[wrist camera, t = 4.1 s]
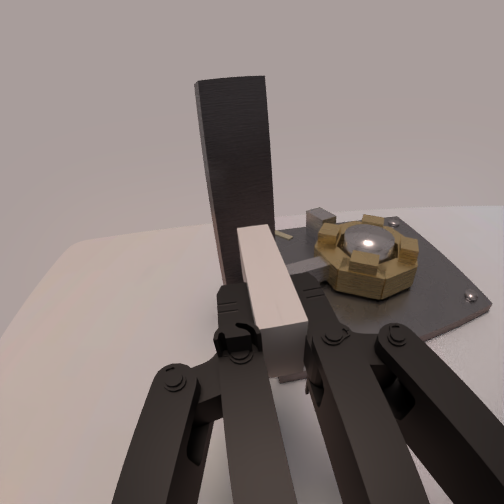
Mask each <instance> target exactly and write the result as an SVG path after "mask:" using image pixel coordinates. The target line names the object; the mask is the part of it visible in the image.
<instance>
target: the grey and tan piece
mask: <svg viewBox="0 0 504 504" xmlns="http://www.w3.org/2000/svg"><path fill="white" fill-rule="evenodd" d="M194 87H195V96H196V105H197V113H198V121H199V129H200V136H201V145H202V153H203V160H204V167H205V174H206V181H207V188H208V194H209V201H210V208H211V214H212V221H213V227H214V233H215V239H216V245H217V251H218V257H219V263H220V268H221V274H222V280H223V285H230V284H237V283H244V280H243V275H242V267H241V259H240V250H239V242H238V234H237V228H242V227H249V226H257V225H265V224H268V226H269V229H270V231H271V233H272V235H273V238H274V240H275V221H274V203H273V184H272V168H271V152H270V137H269V123H268V110H267V97H266V86H265V76H245V77H230V78H219V79H209V80H201V81H197V82H196V83H195V84H194ZM359 224H368V225H375V226H378V227H381V228H384V229H386V230H387V231H389V232H390V233H391V234H392V235H393V236H394V238H395V243H394V248H393V253H392V258H391V260H389V261H386V262H384V263H381V264H379V257H380V255H377V254H372V253H367V252H362V251H356V250H353V252H352V255H351V258H350V257H349V256H348V255H346V254H345V253H344V252H343V245H344V234H345V231H346V229H347V228H349V227H351V226H353V225H359ZM383 225H384V218H383V217H377V216H371V215H365V214H364V215H363V218H362V222H360V221H352V222H348V223H343V224H339V225H336V224H330V223H324V224H323V225H322V227H321V229H320V230H319V232H318V240H317V242H316V244H315V246H314V258H310V259H307V260H303V261H299V262H295V263H292V264H288V265H285V266H286V268H287V270H288V273H289V275H292V274H298V273H304V272H309V273H310V274H311V275H313V276H314V277H315V278H316V279H317V280H318V282H322V281H325V280H326V281H327V282H328V283H329V284H330V285H331V286H332V287H333V288H334V290H336V291H340V292H345V293H350V294H354V295H359V296H364V297H368V298H373V299H378V300H380V299H381V300H382V299H384V298H386V297H389V296H391V295H393V294H395V293H398V292H400V291H402V290H404V289H406V288H409V287H411V286H412V284H413V281H414V277H415V274H416V271H417V267H418V261H417V257H418V253H419V247H418V239H413V238H408V237H405V236H403V235H402V234H400V233H399V232H397V231H396V230H394V229H393V228H391V227H388V226H383Z"/></svg>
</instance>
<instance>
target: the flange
mask: <svg viewBox="0 0 504 504" xmlns="http://www.w3.org/2000/svg"><path fill="white" fill-rule="evenodd" d="M351 222H352V221H351ZM360 222H362V220H360ZM324 223H330V224H336V225H339V224H343V223H348V222H342V223H336V216H335V215H333V214H331V213H330V212H328V211H326V210H324V209H322V208H320V207H319V208H316V209H312V210H308V211H306V227H301V228H293V229H285V230H278V231H277V230H275V242H276V245H277V247H278V249H279V252H280V254H281V256H282V259H283V261H284V263H285V265H288V264H292V263H295V262H299V261H303V260H307V259H310V258H314V246H315V244H316V242H317V240H318V232H319V230H320V229H321V227H322V225H323V224H324ZM383 226H388V227H391V228H393V229H394V230H396V231H397V232H399V233H400V234H402V235H403V236H405V237H408V238H413V239H418V247H419V253H418V257H417V261H418V267H417V271H416V274H415V277H414V281H413V284H412V286H411V287H409V288H406V289H404V290H402V291H400V292H398V293H395V294H393V295H391V296H389V297H386V298H384V299H382V300H381V299H380V300H378V299H373V298H368V297H364V296H359V295H354V294H350V293H345V292H340V291H336V290H334V288H333V287H332V286H331V285H330V284H329V283H328V282H327V281H326V280H325V281H322V282H319V284H320V286H321V289H322V290H323V291H324V293H325V296H326V297H327V299H328V301H329V303H330V305H331V307H332V309H333V311H334V312H335V314H336V316H337V318H338V320H339V322H340V323H342V324H344V325H346V326H347V327H349V328H350V329H351V331H352V332H356V333H364V334H378V333H379V330H380V329H381V328H382V327H383V326H384V325H386V324H389V323H399V324H403V325H405V326H407V327H408V328H409V329H411V330H412V331H413V332H414V333H415V334H416V335H417V336H418V337H419V338H420V339H421V340H422V341H423V342H424V341H427V340H429V339H431V338H434V337H436V336H438V335H441V334H443V333H445V332H447V331H450V330H452V329H454V328H456V327H458V326H460V325H462V324H465V323H467V322H469V321H471V320H473V319H474V318H476V317H478V316H480V315H482V314H484V313H486V312H488V311H489V309H490V307H491V305H492V302H491V301H490V300H489V299H488V298H487V297H486V296H485V295H484V294H483V293H482V292H481V291H480V290H479V289H478V288H477V287H476V286H475V285H474V284H473V283H472V282H471V281H470V280H469V279H468V278H467V277H466V276H465V275H464V274H463V273H462V272H461V271H460V270H459V269H458V268H457V267H456V266H455V265H454V264H453V263H452V262H451V261H449V260H448V259H447V258H446V257H445V256H444V255H443V254H442V253H441V252H440V251H438V250H437V249H436V248H435V247H434V246H433V245H432V244H430V243H429V242H428V241H427V240H426V239H424V238H423V237H422V236H421V235H420V234H418V233H417V232H416V231H415V230H414V229H412V228H411V227H410V226H409V225H407V224H406V223H405V222H404V221H402V220H401V219H400V218H399V217H397V216H396V217H387V218H384V225H383ZM394 243H395V238H394V236H393V235H392V234H391V233H390V232H389V231H387V230H386V229H384V228H381V227H378V226H375V225H368V224H359V225H353V226H351V227H349V228H347V229H346V231H345V234H344V245H343V252H344V253H345V254H346V255H348V256H349V257H350V258H351V255H352V252H353V250H356V251H362V252H367V253H372V254H377V255H380V257H379V264H381V263H384V262H386V261H389V260H391V258H392V253H393V248H394ZM278 378H279V382H280V383H284V382H289V381H294V380H299V379H303V378H307V371H306V368H305V365H304V370H303V372H299V373H294V374H289V375H284V376H279V377H278Z"/></svg>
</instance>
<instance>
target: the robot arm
mask: <svg viewBox="0 0 504 504" xmlns="http://www.w3.org/2000/svg"><path fill="white" fill-rule="evenodd" d="M237 234H238V242H239V250H240V259H241V267H242V275H243V280H244V283H237V284H230V285H223V286H221V288H220V289H219V291H218V293H217V309H218V326H219V328H218V329H217V330H216V332H215V334H214V338H213V341H214V344H215V348H216V351H217V353H216V354H215V355H214V357H213V358H211V359H210V360H209V361H207V362H205V363H203V364H201V365H198V366H195V367H193V368H190V367H189V366H187V365H184V364H181V363H178V364H170V365H167V366H165V367H163V368H162V369H161V370H159V371H158V373H157V374H156V376H155V377H154V380H153V382H152V385H151V387H150V390H149V393H148V395H147V398H146V401H145V404H144V406H143V409H142V412H141V415H140V417H139V420H138V423H137V426H136V429H135V432H134V434H133V437H132V440H131V443H130V446H129V449H128V452H127V455H126V458H125V461H124V464H123V467H122V471H121V474H120V477H119V480H118V483H117V487H116V490H115V493H114V497H113V500H112V504H197V502H198V498H199V493H200V488H201V483H202V478H203V473H204V468H205V463H206V458H207V453H208V449H209V444H210V439H211V434H212V429H213V424H214V421H215V420H218V419H220V418H223V420H224V430H225V440H226V449H227V457H228V466H229V474H230V481H231V489H232V496H233V503H234V504H297V500H296V496H295V492H294V487H293V483H292V479H291V475H290V470H289V466H288V462H287V457H286V453H285V449H284V444H283V440H282V435H281V431H280V427H279V422H278V418H277V413H276V409H275V404H274V400H273V395H272V391H271V386H270V382H269V378H273V377H279V376H284V375H289V374H294V373H299V372H303V370H304V365H305V368H306V371H307V381H306V388H305V393H306V394H309V392H310V395H311V399H312V402H313V405H314V408H315V412H316V415H317V418H318V421H319V425H320V428H321V431H322V435H323V438H324V441H325V444H326V448H327V451H328V454H329V458H330V461H331V464H332V468H333V471H334V475H335V478H336V481H337V485H338V488H339V492H340V495H341V498H342V502H343V504H430V503H429V500H428V497H427V495H426V492H425V489H424V487H423V484H422V481H421V479H420V476H419V474H418V471H417V469H416V466H415V464H414V461H413V459H412V456H411V454H410V452H409V449H408V447H407V445H408V446H409V447H410V449H411V450H412V451H413V453H414V454H415V455H416V456H417V458H418V459H419V460H420V461H421V463H422V464H423V465H424V467H425V468H426V469H427V470H428V472H429V473H430V474H431V475H432V477H433V478H434V479H435V480H436V482H437V483H438V484H439V486H440V487H441V488H442V489H443V491H444V492H445V493H446V494H447V496H448V497H449V498H450V500H451V501H452V502H453V503H454V504H504V426H503V425H502V423H501V422H500V421H499V420H498V419H497V418H496V417H495V415H494V414H493V413H492V412H491V411H490V410H489V409H488V408H487V406H486V405H485V404H484V403H483V402H482V401H481V400H480V399H479V398H478V397H477V396H476V394H475V393H474V392H473V391H472V390H471V389H470V388H469V387H468V386H467V385H466V384H465V383H464V382H463V381H462V380H461V379H460V378H459V377H458V376H457V375H456V373H455V372H454V371H453V370H452V369H451V368H450V367H449V366H448V365H447V364H446V363H445V362H444V361H443V360H442V359H441V358H440V357H439V356H438V355H437V354H436V353H435V352H434V351H433V350H432V349H431V348H429V347H428V346H427V345H426V344H425V343H424V342H423V341H422V340H421V339H420V338H419V337H418V336H417V335H416V334H415V333H414V332H413V331H412V330H411V329H409V328H408V327H407V326H405V325H403V324H399V323H389V324H386V325H384V326H383V327H382V328H381V329H380V330H379V333H378V334H364V333H356V332H352V331H351V329H350V328H349V327H347V326H346V325H344V324H342V323H340V322H339V320H338V318H337V316H336V314H335V312H334V311H333V309H332V307H331V305H330V303H329V301H328V299H327V297H326V296H325V293H324V291H323V290H322V289H321V286H320V284H319V282H318V280H317V279H316V278H315V277H314V276H313V275H311V274H310V273H309V272H304V273H298V274H292V275H289V273H288V270H287V268H286V266H285V263H284V261H283V259H282V256H281V254H280V252H279V249H278V247H277V245H276V242H275V240H274V238H273V235H272V233H271V231H270V229H269V226H268V224H265V225H257V226H249V227H242V228H237Z"/></svg>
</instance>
